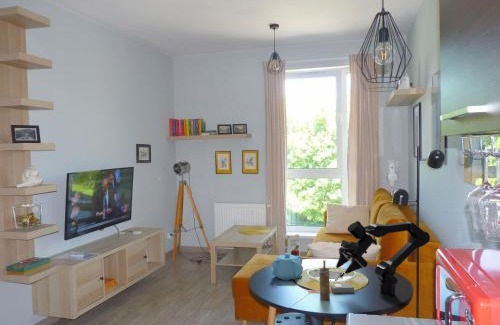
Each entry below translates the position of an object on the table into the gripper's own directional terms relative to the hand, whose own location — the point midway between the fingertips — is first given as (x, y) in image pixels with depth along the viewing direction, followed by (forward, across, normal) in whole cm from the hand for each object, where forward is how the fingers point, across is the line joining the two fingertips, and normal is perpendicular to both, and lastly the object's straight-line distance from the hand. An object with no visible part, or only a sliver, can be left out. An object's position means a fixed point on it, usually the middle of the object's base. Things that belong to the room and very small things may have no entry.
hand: (340, 270), depth 184 cm
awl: (+15, 0, +3) cm, 15 cm away
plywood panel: (+11, -4, +8) cm, 15 cm away
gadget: (+4, -34, +16) cm, 38 cm away
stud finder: (+6, -8, +12) cm, 15 cm away
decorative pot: (+19, -39, +1) cm, 43 cm away
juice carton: (+11, -63, +9) cm, 64 cm away
